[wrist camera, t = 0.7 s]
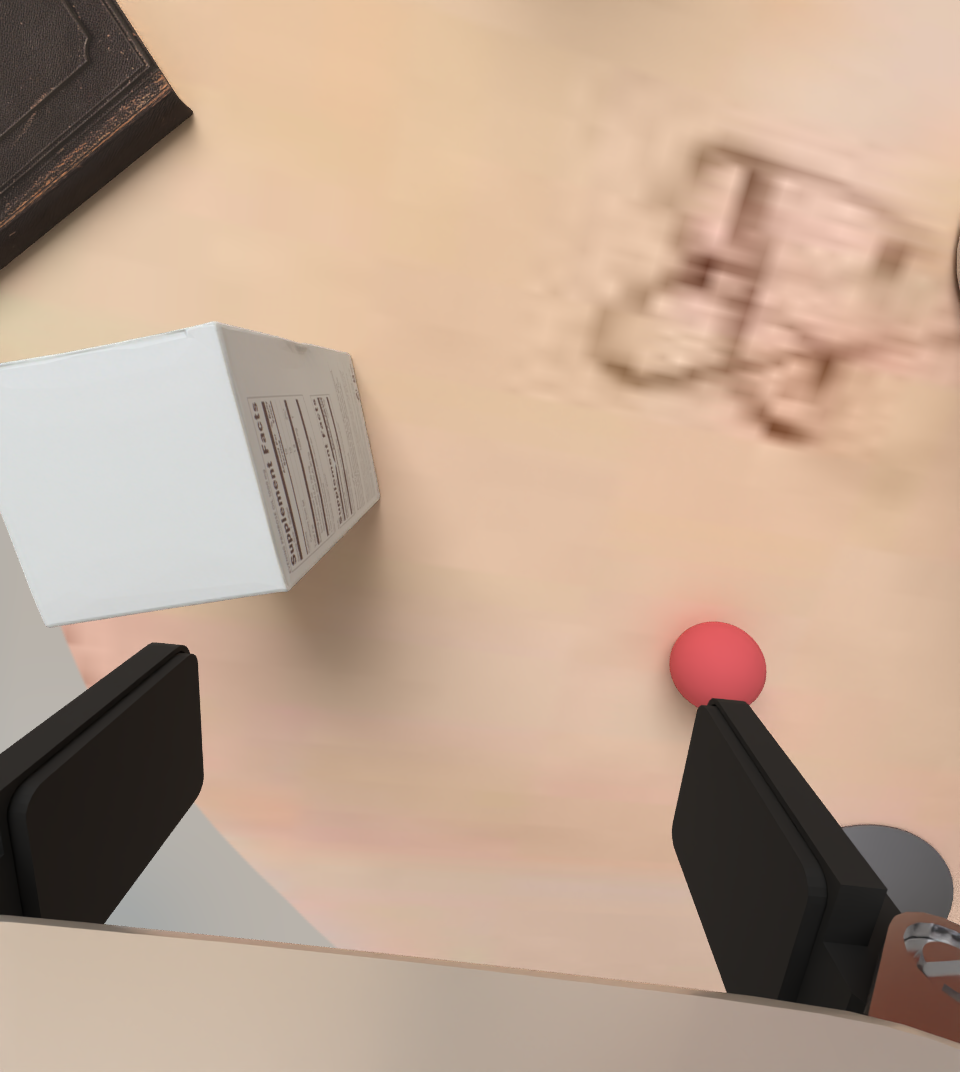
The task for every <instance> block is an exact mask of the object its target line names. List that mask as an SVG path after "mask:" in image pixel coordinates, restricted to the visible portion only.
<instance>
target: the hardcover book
mask: <svg viewBox="0 0 960 1072" xmlns="http://www.w3.org/2000/svg"><path fill="white" fill-rule="evenodd" d="M192 114H193V111H192V110H191V109H190V108H189V107H187V106H186V105H185V104H184V103H183V102H182V101H181V100H180V99H179V97H178V96H177V95H176V93H175V92H174V90H173V89H172V87H171V86H170V84H169V83H168V81H167V79H166V78H165V76H164V75H163V73H162V72H161V70H160V69H159V67H158V66H157V64H156V62H155V61H154V59H153V58H152V56H151V55H150V53H149V52H148V50H147V48H146V47H145V45H144V44H143V42H142V41H141V39H140V38H139V36H138V35H137V33H136V31H135V30H134V28H133V27H132V25H131V24H130V22H129V21H128V19H127V17H126V16H125V14H124V13H123V11H122V10H121V8H120V7H119V5H118V4H117V2H116V0H0V270H1V269H2V268H3V267H4V266H6V265H7V264H8V263H9V262H11V261H12V260H13V259H14V258H16V257H17V256H18V255H19V254H21V253H22V252H23V251H24V250H25V249H27V248H28V247H29V246H30V245H32V244H33V243H34V242H35V241H37V240H38V239H39V238H40V237H41V236H43V235H44V234H45V233H46V232H48V231H49V230H50V229H51V228H53V227H54V226H55V225H56V224H58V223H59V222H60V221H61V220H62V219H64V218H65V217H66V216H67V215H69V214H70V213H71V212H72V211H74V210H75V209H76V208H77V207H78V206H80V205H81V204H82V203H83V202H85V201H86V200H87V199H88V198H90V197H91V196H92V195H93V194H95V193H96V192H97V191H98V190H99V189H101V188H102V187H103V186H104V185H106V184H107V183H108V182H109V181H111V180H112V179H113V178H114V177H116V176H117V175H118V174H119V173H120V172H122V171H123V170H124V169H125V168H127V167H128V166H129V165H130V164H132V163H133V162H134V161H135V160H136V159H138V158H139V157H140V156H141V155H143V154H144V153H145V152H146V151H148V150H149V149H150V148H151V147H153V146H154V145H155V144H156V143H157V142H159V141H160V140H161V139H162V138H164V137H165V136H166V135H167V134H169V133H170V132H171V131H172V130H173V129H175V128H176V127H177V126H178V125H180V124H181V123H182V122H183V121H185V120H186V119H187V118H188V117H190V116H191V115H192Z"/></svg>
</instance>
